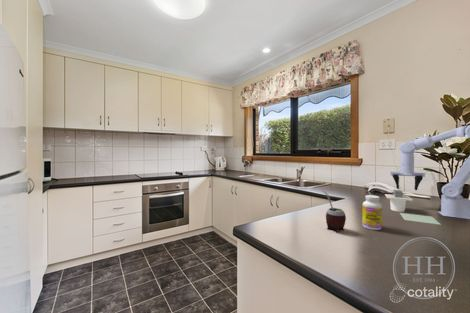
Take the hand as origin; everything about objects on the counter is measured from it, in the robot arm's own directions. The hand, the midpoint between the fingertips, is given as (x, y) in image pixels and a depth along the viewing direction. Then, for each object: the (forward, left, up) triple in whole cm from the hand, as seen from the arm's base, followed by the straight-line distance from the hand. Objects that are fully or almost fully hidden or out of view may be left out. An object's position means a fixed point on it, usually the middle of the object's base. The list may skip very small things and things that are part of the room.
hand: (406, 189), depth 113 cm
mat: (-1, +21, -10) cm, 23 cm away
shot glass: (+5, +9, -11) cm, 15 cm away
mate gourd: (+31, +54, -11) cm, 63 cm away
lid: (+5, +9, -3) cm, 11 cm away
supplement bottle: (+18, +44, -11) cm, 49 cm away
